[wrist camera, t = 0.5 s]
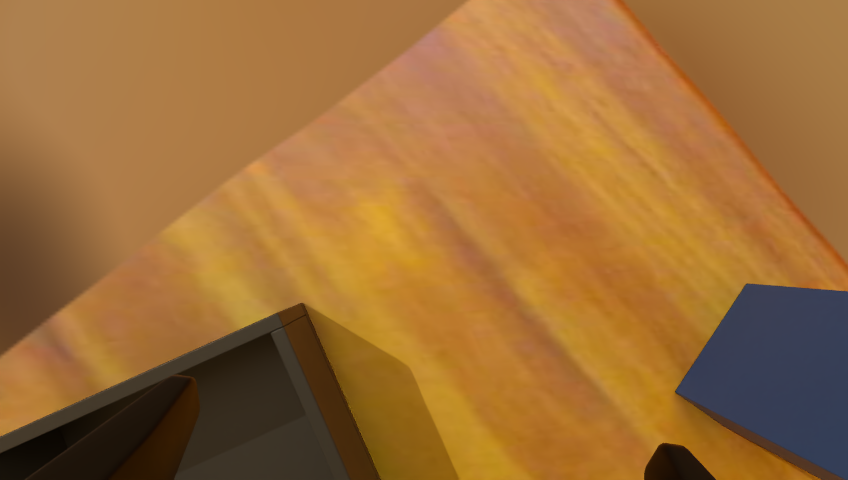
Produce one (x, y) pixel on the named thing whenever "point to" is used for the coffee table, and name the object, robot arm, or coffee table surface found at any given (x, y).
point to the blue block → (780, 375)
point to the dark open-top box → (230, 411)
